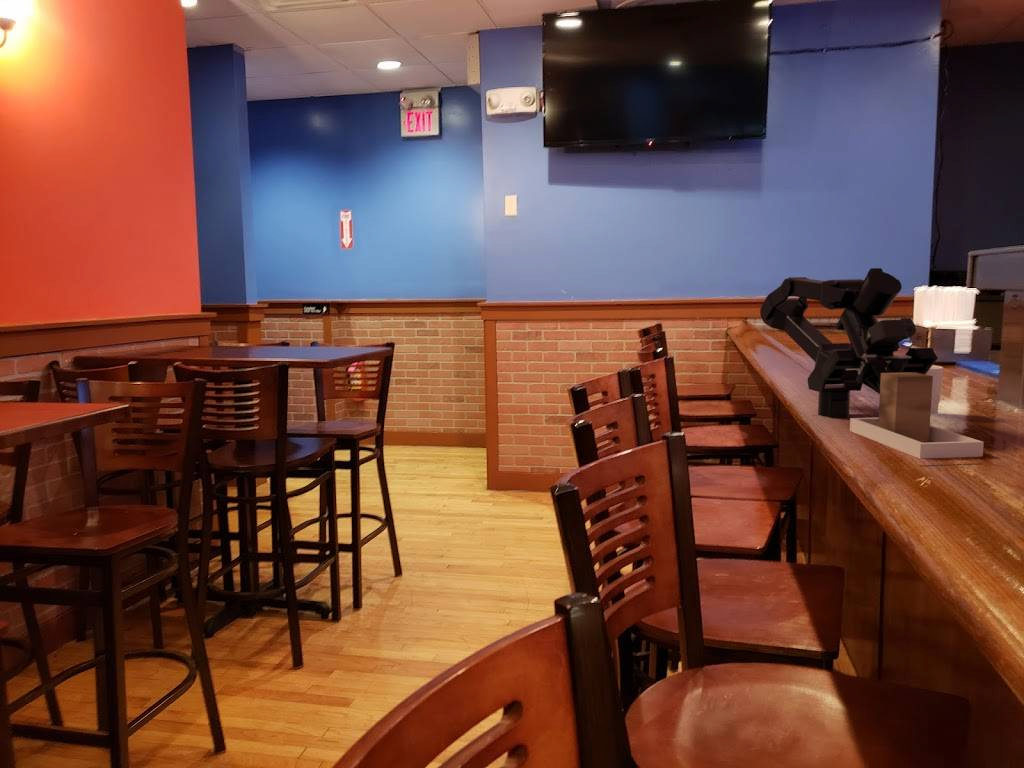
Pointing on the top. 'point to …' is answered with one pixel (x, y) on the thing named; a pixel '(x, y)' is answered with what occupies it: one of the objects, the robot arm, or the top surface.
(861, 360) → the robot arm
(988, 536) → the top surface
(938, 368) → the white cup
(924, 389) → the walnut block
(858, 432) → the box
